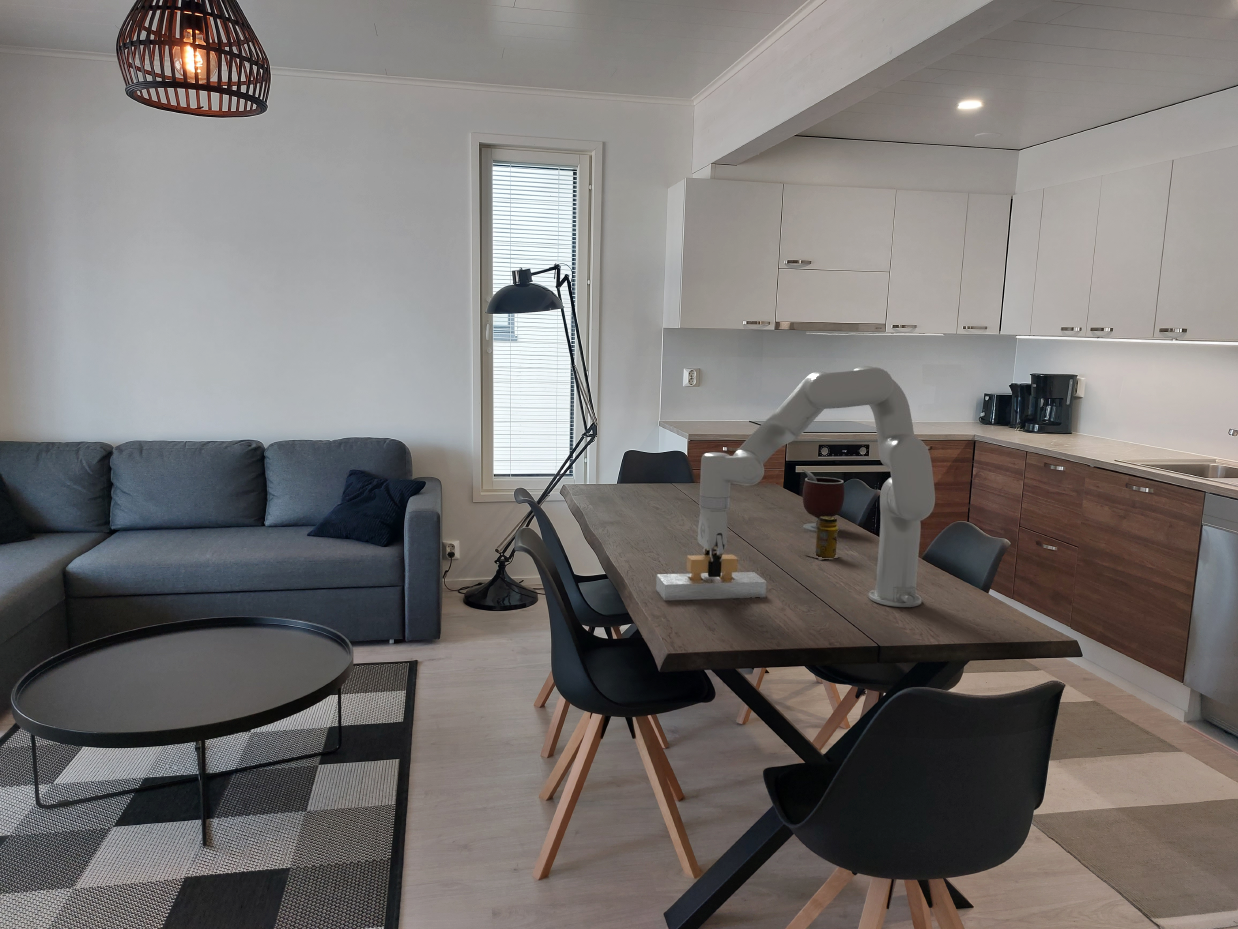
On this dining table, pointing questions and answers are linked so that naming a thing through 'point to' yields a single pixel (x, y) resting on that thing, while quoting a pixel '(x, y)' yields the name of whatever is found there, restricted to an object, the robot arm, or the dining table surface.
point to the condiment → (826, 537)
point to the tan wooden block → (700, 565)
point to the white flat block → (710, 586)
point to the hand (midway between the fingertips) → (711, 573)
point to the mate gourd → (822, 497)
